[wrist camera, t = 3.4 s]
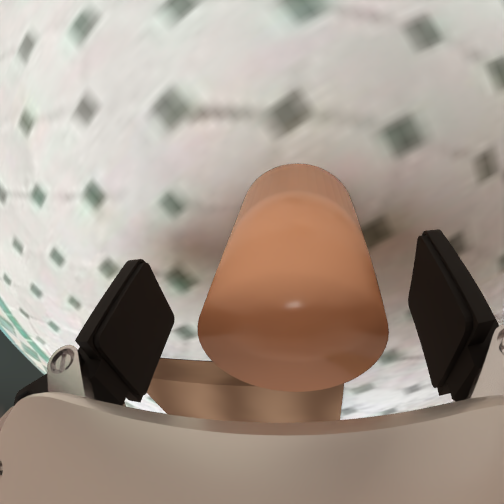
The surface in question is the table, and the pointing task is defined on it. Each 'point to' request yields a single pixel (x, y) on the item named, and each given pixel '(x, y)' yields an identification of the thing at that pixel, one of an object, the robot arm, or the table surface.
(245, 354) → the terracotta cylinder
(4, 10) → the table surface
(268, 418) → the walnut board
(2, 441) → the robot arm
